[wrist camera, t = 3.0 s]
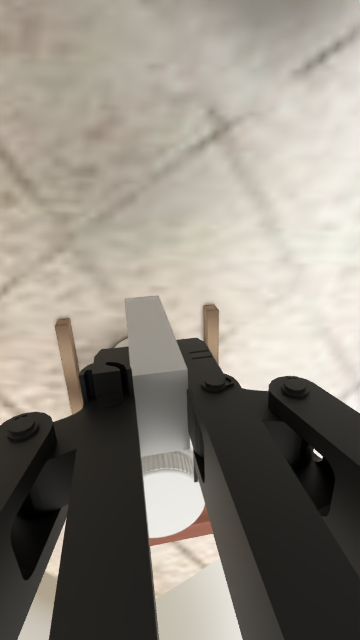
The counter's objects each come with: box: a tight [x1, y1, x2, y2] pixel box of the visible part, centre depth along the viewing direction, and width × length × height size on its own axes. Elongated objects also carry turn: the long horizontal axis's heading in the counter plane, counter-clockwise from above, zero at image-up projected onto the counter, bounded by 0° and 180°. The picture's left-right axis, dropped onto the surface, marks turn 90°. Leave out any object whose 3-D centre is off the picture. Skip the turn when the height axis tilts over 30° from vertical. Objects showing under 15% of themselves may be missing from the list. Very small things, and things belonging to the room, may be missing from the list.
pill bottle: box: [114, 338, 205, 538], centre depth 25 cm, size 8×8×15 cm
